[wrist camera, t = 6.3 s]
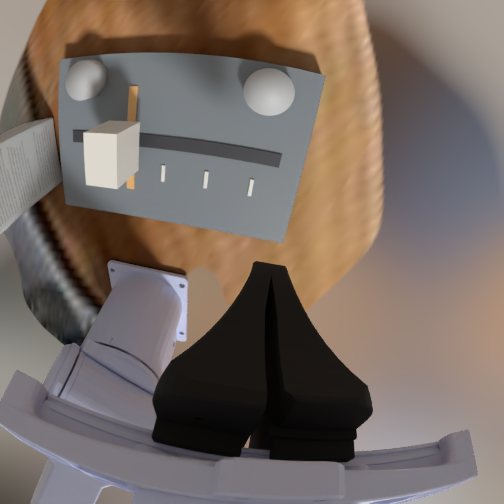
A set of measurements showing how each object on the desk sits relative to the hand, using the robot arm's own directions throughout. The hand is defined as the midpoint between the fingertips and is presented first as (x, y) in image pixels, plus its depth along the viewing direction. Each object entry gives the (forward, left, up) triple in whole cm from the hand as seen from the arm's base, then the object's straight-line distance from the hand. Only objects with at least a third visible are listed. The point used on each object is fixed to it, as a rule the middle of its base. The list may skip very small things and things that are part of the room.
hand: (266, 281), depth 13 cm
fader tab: (+3, +10, -8) cm, 13 cm away
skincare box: (+1, +20, -10) cm, 22 cm away
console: (+3, +7, -10) cm, 13 cm away
